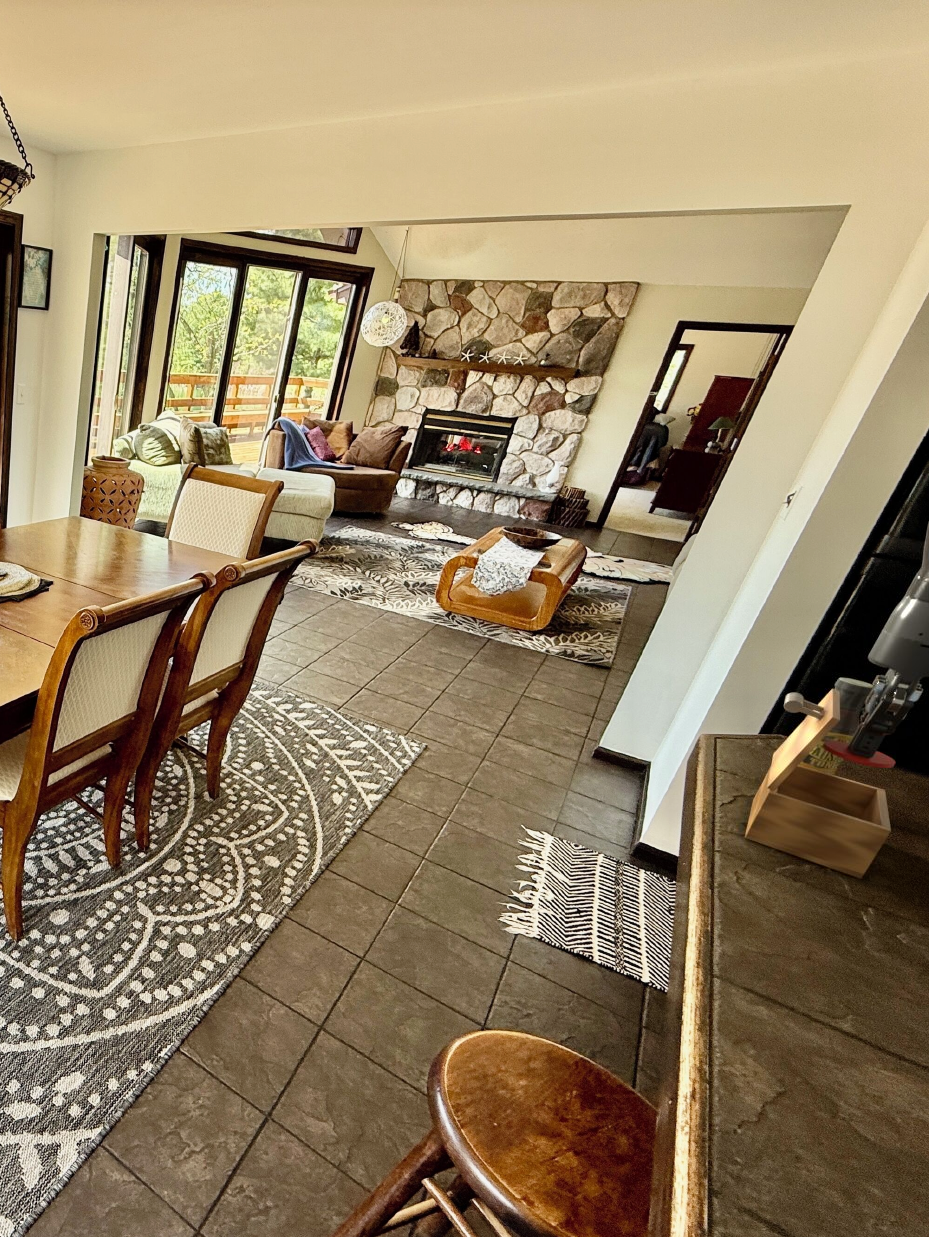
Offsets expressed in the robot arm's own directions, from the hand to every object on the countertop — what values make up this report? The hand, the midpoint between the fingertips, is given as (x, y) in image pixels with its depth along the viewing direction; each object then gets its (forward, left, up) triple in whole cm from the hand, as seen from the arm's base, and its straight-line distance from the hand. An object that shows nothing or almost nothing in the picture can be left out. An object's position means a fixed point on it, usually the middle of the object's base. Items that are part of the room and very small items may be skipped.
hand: (859, 751), depth 96 cm
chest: (+1, 0, -15) cm, 15 cm away
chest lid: (+5, -1, 0) cm, 5 cm away
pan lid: (0, 0, -1) cm, 1 cm away
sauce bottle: (-2, -19, -15) cm, 24 cm away
